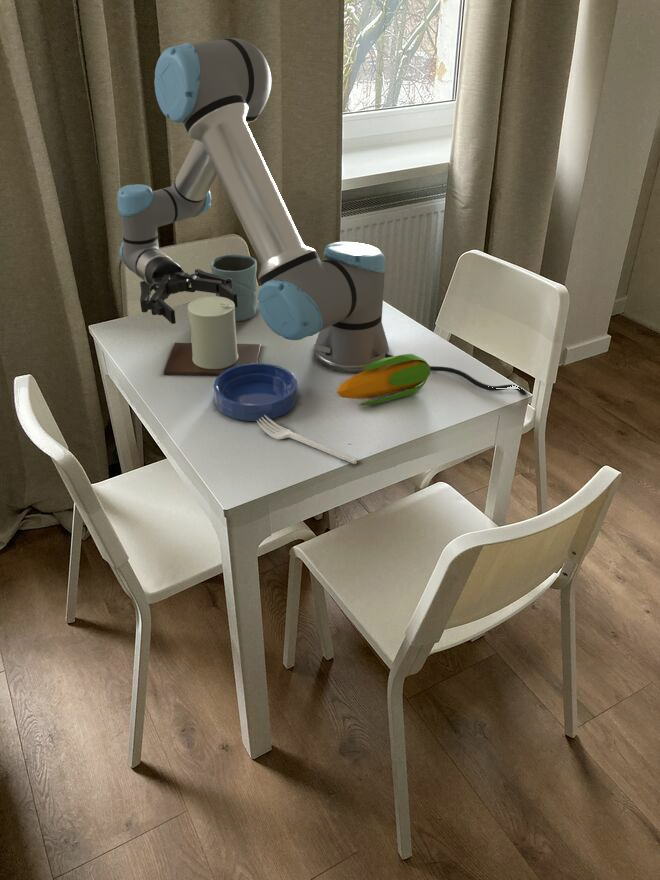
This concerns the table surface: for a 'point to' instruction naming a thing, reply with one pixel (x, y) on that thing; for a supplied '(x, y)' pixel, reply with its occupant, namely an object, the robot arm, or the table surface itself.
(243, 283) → the blue cup
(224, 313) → the can
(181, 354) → the board
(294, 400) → the bowl
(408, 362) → the corn
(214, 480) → the table surface
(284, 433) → the fork
